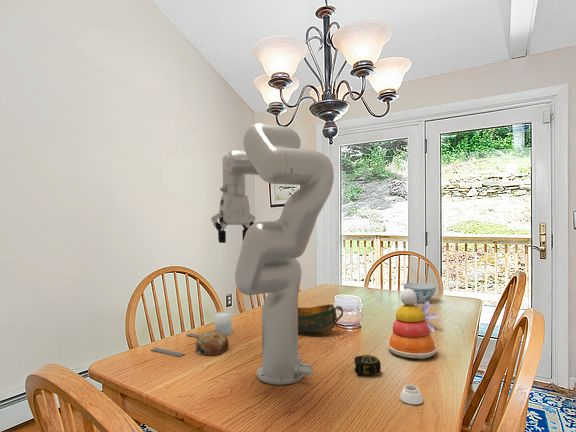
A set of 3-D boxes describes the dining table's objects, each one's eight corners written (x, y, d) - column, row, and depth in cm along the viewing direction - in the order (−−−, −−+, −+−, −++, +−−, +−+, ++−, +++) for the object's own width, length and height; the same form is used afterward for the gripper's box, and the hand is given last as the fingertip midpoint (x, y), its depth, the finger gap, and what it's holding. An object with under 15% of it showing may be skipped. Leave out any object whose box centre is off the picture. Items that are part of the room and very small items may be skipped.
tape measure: (354, 366, 101) (354, 353, 101) (379, 368, 100) (379, 354, 100) (354, 377, 94) (354, 363, 94) (381, 379, 93) (381, 364, 93)
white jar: (395, 399, 83) (414, 408, 79) (395, 386, 83) (414, 395, 79) (408, 393, 86) (427, 401, 82) (408, 380, 86) (427, 388, 82)
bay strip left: (184, 354, 111) (184, 353, 111) (180, 357, 109) (180, 356, 109) (156, 348, 116) (155, 347, 116) (151, 350, 114) (151, 349, 114)
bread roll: (193, 362, 114) (185, 342, 111) (212, 339, 123) (205, 320, 120) (218, 368, 110) (210, 347, 107) (236, 343, 118) (230, 324, 115)
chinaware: (397, 299, 183) (397, 283, 183) (422, 296, 187) (422, 281, 187) (416, 305, 169) (416, 289, 169) (443, 303, 173) (443, 287, 173)
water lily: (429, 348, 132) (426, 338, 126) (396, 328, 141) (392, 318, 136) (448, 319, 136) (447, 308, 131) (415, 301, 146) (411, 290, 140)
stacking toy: (440, 349, 113) (439, 286, 114) (432, 365, 101) (431, 295, 101) (394, 341, 121) (393, 283, 121) (381, 356, 108) (381, 290, 109)
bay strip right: (217, 338, 125) (217, 338, 125) (213, 340, 123) (213, 339, 123) (190, 334, 131) (190, 333, 131) (186, 335, 129) (186, 335, 129)
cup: (234, 331, 133) (234, 312, 133) (224, 336, 127) (224, 316, 127) (221, 329, 135) (221, 311, 136) (211, 334, 130) (211, 314, 130)
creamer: (324, 343, 120) (324, 312, 120) (279, 331, 133) (279, 304, 133) (345, 333, 129) (345, 305, 130) (301, 323, 142) (301, 297, 142)
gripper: (218, 189, 114) (218, 244, 114) (260, 191, 126) (261, 241, 126) (205, 190, 120) (206, 242, 120) (247, 192, 132) (248, 240, 132)
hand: (234, 241), depth 123 cm, fingers open, 9 cm apart
